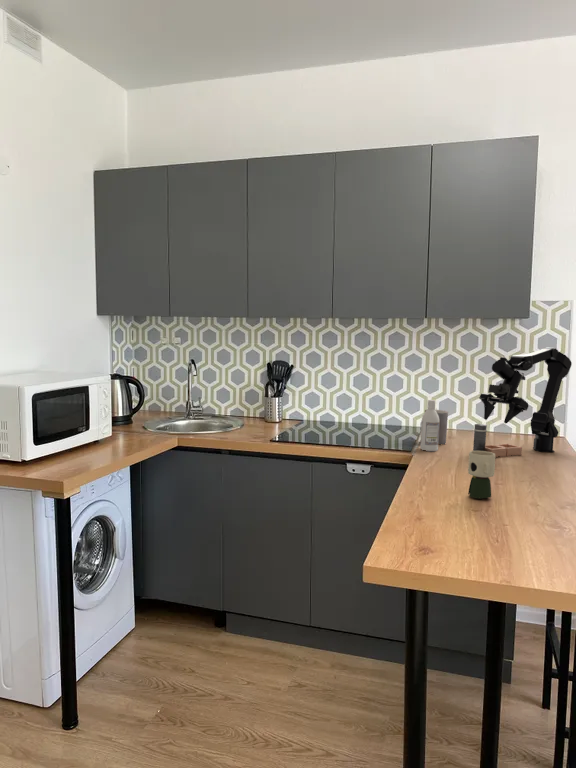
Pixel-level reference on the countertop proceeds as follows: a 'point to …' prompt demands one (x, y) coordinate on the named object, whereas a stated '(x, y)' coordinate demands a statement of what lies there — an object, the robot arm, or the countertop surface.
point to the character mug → (481, 473)
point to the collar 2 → (511, 449)
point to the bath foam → (430, 428)
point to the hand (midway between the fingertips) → (494, 421)
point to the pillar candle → (442, 425)
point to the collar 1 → (496, 450)
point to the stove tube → (479, 437)
